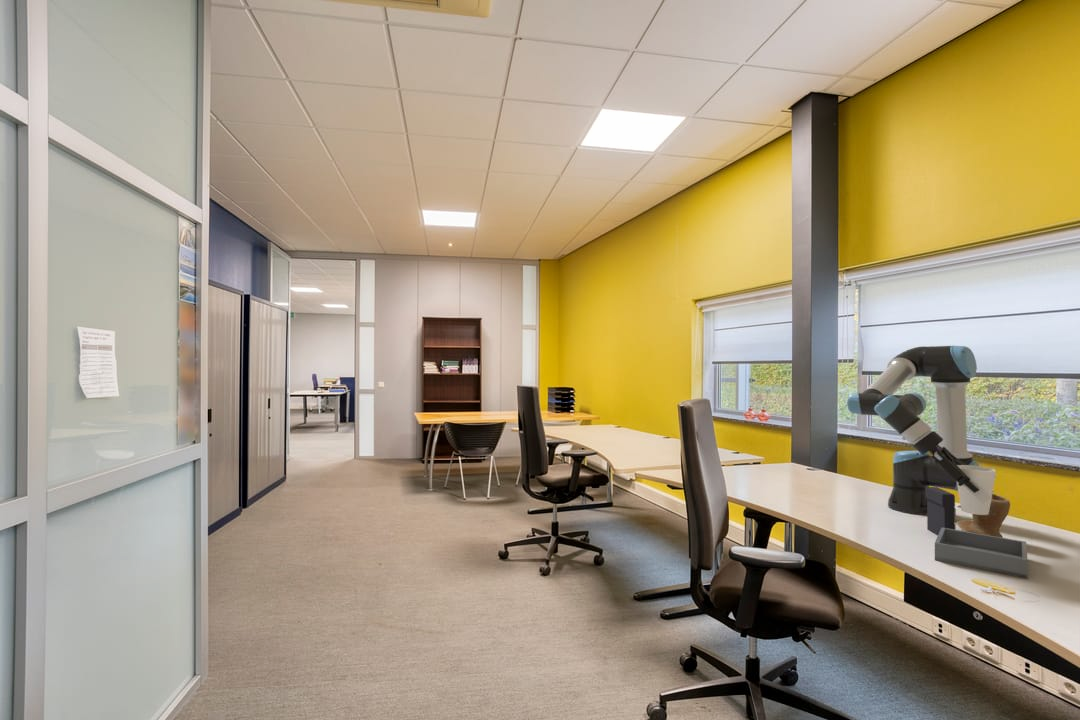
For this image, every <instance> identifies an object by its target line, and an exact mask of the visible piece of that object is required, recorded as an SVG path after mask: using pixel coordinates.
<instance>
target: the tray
mask: <svg viewBox="0 0 1080 720" xmlns="http://www.w3.org/2000/svg"><path fill="white" fill-rule="evenodd" d="M934 561H937V562H943V563H947V564H952V565H957V566H962V567H968V568H973V569H977V570H982V571H986V572H991V573H996V574H1001V575H1007V576H1010V577H1011V576H1012V577H1015V578H1016V577H1017V578H1019V579H1020V578H1021V579H1026V580H1028V579H1029V578H1028V576H1029V571H1028V570H1029V569H1028V567H1029V566H1028V563H1029V562H1028V548H1027V541H1024V540H1018V539H1012V538H1007V537H1003V538H1001V537H995V536H990V535H984V534H978V533H972V532H966V531H963V530H959V529H956V530H954V529H948V528H942V527H941V530H940V532H939V534H938V535H937V537H936V539H935V542H934Z"/></svg>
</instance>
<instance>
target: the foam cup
mask: <svg viewBox="0 0 1080 720" xmlns="http://www.w3.org/2000/svg"><path fill="white" fill-rule="evenodd" d="M957 466H958V467H959V468H960V469H961V470H962V471H963V472H964V473H965V474H966V475H967V476H968V477H969V478H970V480H971V479H972V480H973V481H974V482H975V483H977V484H978V485H979V486H980V487H981V488H982V489H983V490H984V491H986V492H987V493H988V494H989V495H990V496H991V497H992V492H993V491H994V485H995V480H996V478H997V476H996V475H997V471H996V469H995V468H991V467H986V466H982V465H979V466H972V465H957ZM958 484H959V483H958V482H957V487H958V491H957V492H958V498H959V499H958V500H959V505H960V511H961V512H962V513H963V512H964V513H967V514H977V515H988V514H989V510H990V504H991V499H990V500H988V501H987V502H985V503H984V504H983V503H982V502H981V501H980V500H979V499H978V498H977V497H976V496H975V495H973V494H972V493H971V492H970V491H969V490H968V489H967V488H966V487H965V486H964V485H962V486H959V485H958ZM993 493H994V492H993Z"/></svg>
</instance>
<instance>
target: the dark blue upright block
mask: <svg viewBox="0 0 1080 720" xmlns="http://www.w3.org/2000/svg"><path fill="white" fill-rule="evenodd" d="M925 497H926V499H927V514H926V515H927V516H926V518H927V521H926V527H927V530H928V531H930V532H932V534H934V535H937V536H938V534H939V532H940V530H941V527H942V528H948V529H954V530H957V529H956V528H957V525H956V524H957V521H956V519H957V518H956V516H957V514H956V513H957V512H956V511H957V509H956V495H955V494H954V493H951V492H949V491H947V490H944V489H943V488H940V487H933V486H929V487H925Z"/></svg>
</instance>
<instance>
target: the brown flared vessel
mask: <svg viewBox="0 0 1080 720" xmlns="http://www.w3.org/2000/svg"><path fill="white" fill-rule="evenodd" d="M1010 508H1011V502H1010V499H1007V498H1006V497H1004V496H1002V495H998V494H995V493H994V492H993V493H992V499H991V504H990V510H989V514H988V515H977V514H972V520H969V519H968V520H967V519H965V520H964V519H963V520H959V521H956V524H957V526H958V527H959V529H961V531H966V532H972V533H978V534H984V535H990V536H995V537H1001V538H1004V537H1003V535H1002V533H1001V532H1000V529H1001V526H1002V525H1003V523H1004V521H1005V520H1006V518H1007V516H1008V514H1009V512H1010Z"/></svg>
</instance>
